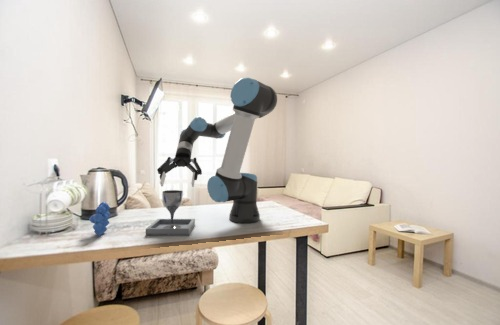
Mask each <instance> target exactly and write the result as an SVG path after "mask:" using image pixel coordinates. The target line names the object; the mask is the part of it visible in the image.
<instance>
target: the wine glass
mask: <svg viewBox="0 0 500 325" xmlns="http://www.w3.org/2000/svg"><path fill="white" fill-rule="evenodd" d="M183 193H184V191H183V190H179V189H174V190H173V189H172V190H171V189H170V190H167V189H166V190H163V191H162V194H161V195H162V204H163V206H164V208H165V209H167V211H168V212H169V214H170V219H171V225H169V226H165V227H163V228H181V226H179V225H173V219H174V215H175V214H176V213H175V212H176V211H177V210H178V209H179V207H181V205H182V201H183V197H184V196H183Z"/></svg>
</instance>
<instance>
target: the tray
mask: <svg viewBox="0 0 500 325" xmlns="http://www.w3.org/2000/svg"><path fill="white" fill-rule="evenodd" d="M195 223H196V220H195V218H173V225H179V226H181V228H163V227H165V226H169V225H171V218H157V219H156V220H155V221H153V223H151V224H150V225H149V226H147V227H146V228H145V237H160V236H161V237H169V236H170V237H171V236H172V237H175V236H176V237H179V236H181V237H183V236H184V237H185V236H186V237H188V236H190V234H191V232H192V231H193V229H194V227H195V226H196V224H195Z"/></svg>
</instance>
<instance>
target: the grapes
mask: <svg viewBox="0 0 500 325" xmlns="http://www.w3.org/2000/svg"><path fill="white" fill-rule="evenodd" d="M110 209H111V207H110V206H109V204H108V203H107V202H106V201H102V202H100V204H98V205H97V207H96V208H95V214H92V215H91V216H90V217H89V218H88V220H89V221H90V223H92V224H93V225H92V228H93V230H94V234H95V235H96V236H97V237H98V236H101V235H102V234H104V233H105V232H107V230H108V228H107V226H108V225H109V224H110V221H109V219H110V216H111V213H110V212H109V210H110Z"/></svg>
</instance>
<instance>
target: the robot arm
mask: <svg viewBox="0 0 500 325" xmlns="http://www.w3.org/2000/svg"><path fill="white" fill-rule="evenodd" d="M230 101H231V103H232V104H233V107H232V110H233V112H232V113H229V115H226V116H225V117H224V118H221V119H220V120H218V121H217V122H214V123H209V122H207V120H206V119H205V118H204V117H203V118H202V117H201V116H196V117H194V118H193V119H192V120H191V122H190V123H189V125H188V126H187V127H186V128H185V129H182V131H181V132H180V134H179V140H178V143H177V148H176V151H175V155H174V156H175V157H174V158H171V157H170V156H168V157H167V159H166V160H165V161H164V163H162V164H161V165H160V166H159V167H158V168H156V170H157V173H158V175H159V180H160V181H159V183H160V186H161V187H164V183H165V180H166V177H167V176H166V174H168V173H169V172H170V171H172V170H173V169H176V168H179V167H183V168H185V167H186V168H187V169H189V170H190V171H191V172H192V176H191V178H192V179H191V187H192V188H193V187H195V181H197V180H198V176H199V175H202V174H203V171H202V169H201V168H202V167H201V166H200V165H199V163H198V161H197V157H193V158H192V153H193V147H194V143H195V142H196V141H197V139H198V138H200V137H203V138H211V139H212V138H213V139H223V138H225V136H226V133H228V132H230V133H229V136H228V139H227V143H226V148H225V151H224V155H223V159H222V162H221V166H220V167H218V168H217V169H216V172H215V175H212V176H211V177H209V178H208V179H207V187H206V189H207V193H208V194H209V197H210V198H211V200H212V201H214V202H215V203H226V202H232V201H233V204H232V206H231V209H230V213H229V214H228V215H229V217H228V219H229V221H231V222H234V223H240V224H241V223H242V224H252V223H257V222H259V221H260V219H261V218H260V217H261V215H260V212H259V211H260V210H259V209H258V205H257V203H258V202H257V200H258V196H257V195H258V177H257V175H256V173H255V174H254V173H247V172H241V168H242V165H243V162H244V158H245V155H246V152H247V148H248V146H249V141H250V138H251V134H252V130H253V127H254V123H255V121H256V120H257V119H258V118H259V119H260V118H264V117H265V116H267V115H269V114H270V113H271V112H273V111H274V110H275V108H276V106H277V104H278V95H277V92H276V91H275V89H273V88H272V87H271V86H269V85H266V84H264V83H263V82H261V81H259V80H258V79H257V80H256V79H254V78H251V77H247V76H246V77H242V78H240V79H239V80H238V81H236V82H235V84H233V86H232V88H231V91H230ZM191 163H192V164H194V166H193V165H192V164H191Z"/></svg>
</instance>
